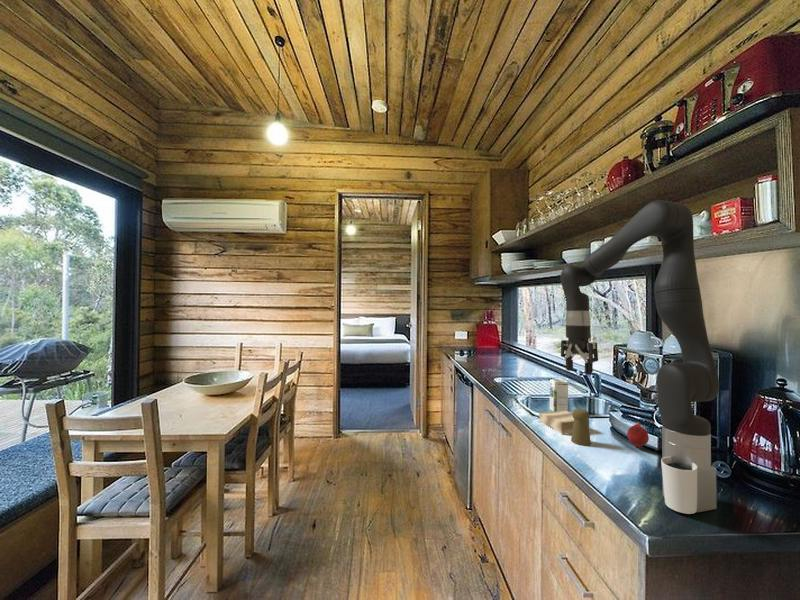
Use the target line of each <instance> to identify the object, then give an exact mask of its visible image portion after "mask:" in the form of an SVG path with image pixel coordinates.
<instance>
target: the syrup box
mask: <svg viewBox="0 0 800 600" xmlns="http://www.w3.org/2000/svg"><path fill="white" fill-rule="evenodd" d="M554 411H568V412H569V382H568V381H565V380H563V379H560V378H559V379H557V378H551V379H549V412H554Z"/></svg>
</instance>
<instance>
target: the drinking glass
mask: <svg viewBox="0 0 800 600" xmlns="http://www.w3.org/2000/svg"><path fill="white" fill-rule="evenodd" d="M660 463H661V473H662V474H661V475H663V476H662V487H663V486H664V496H665V497H664V496H663V497H664V504H665V505H666V506H667V507H668V508H669V509H671V510H673V511H675V512H677V513H681V514H687V515H691V514H695V513H698V512H697V465H696V464H694V463H692V469H690V468H685V467H681V466H680V465H679V464H677V463H674V464H671V457H664V458H661V459H660Z"/></svg>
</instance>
